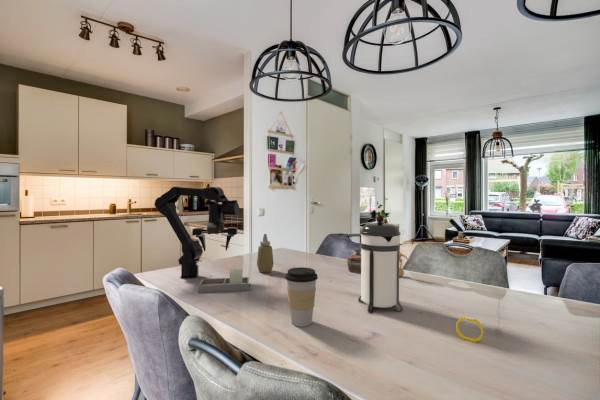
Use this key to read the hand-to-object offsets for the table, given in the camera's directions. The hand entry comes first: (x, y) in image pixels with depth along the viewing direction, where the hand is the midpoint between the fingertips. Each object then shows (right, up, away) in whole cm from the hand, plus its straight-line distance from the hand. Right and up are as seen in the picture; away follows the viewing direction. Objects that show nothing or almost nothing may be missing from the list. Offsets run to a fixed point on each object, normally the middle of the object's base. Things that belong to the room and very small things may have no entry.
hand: (215, 250), depth 133 cm
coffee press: (+63, -13, -32) cm, 72 cm away
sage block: (+12, -12, -13) cm, 21 cm away
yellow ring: (+81, -13, -56) cm, 99 cm away
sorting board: (+8, -12, -14) cm, 20 cm away
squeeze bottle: (+21, -12, +11) cm, 26 cm away
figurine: (+82, -12, +2) cm, 83 cm away
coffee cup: (+38, -13, -46) cm, 61 cm away
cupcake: (+65, -12, +12) cm, 67 cm away
